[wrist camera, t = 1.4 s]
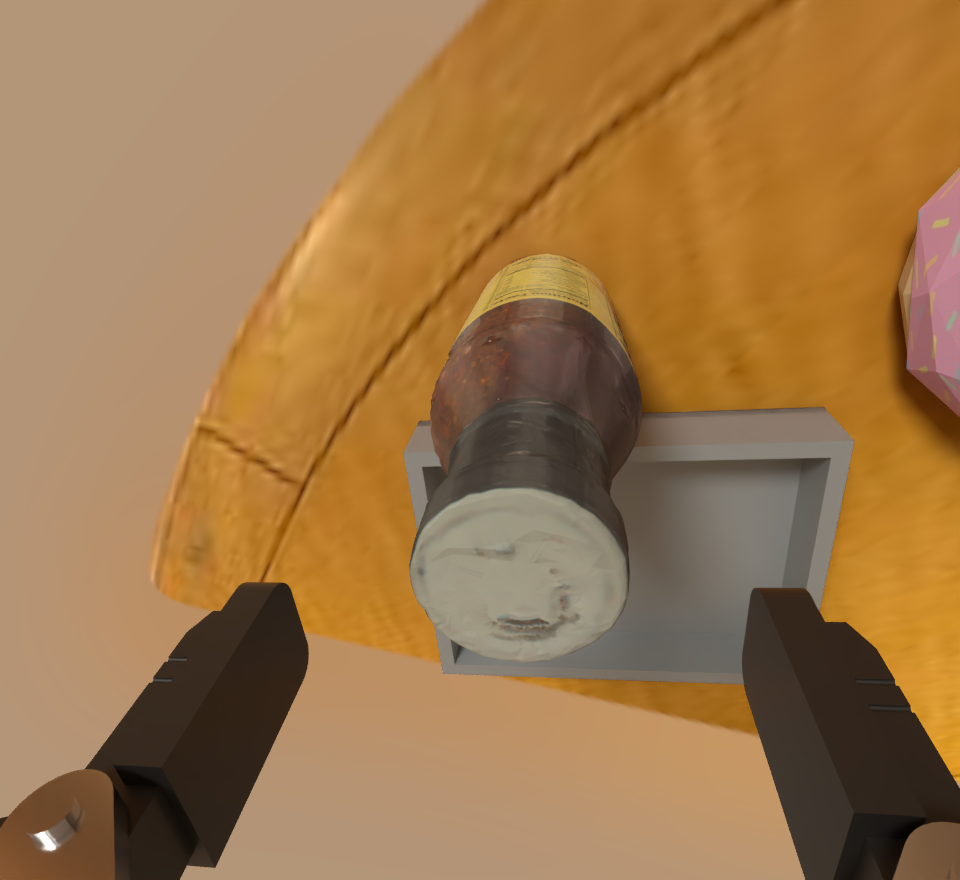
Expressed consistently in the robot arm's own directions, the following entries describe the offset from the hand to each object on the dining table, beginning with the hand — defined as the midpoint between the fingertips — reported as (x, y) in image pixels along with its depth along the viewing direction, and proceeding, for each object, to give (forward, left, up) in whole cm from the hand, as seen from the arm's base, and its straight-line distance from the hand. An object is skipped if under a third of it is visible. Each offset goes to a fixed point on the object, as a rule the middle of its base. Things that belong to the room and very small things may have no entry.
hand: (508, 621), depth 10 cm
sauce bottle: (0, 0, -21) cm, 21 cm away
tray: (-3, +13, -20) cm, 24 cm away
